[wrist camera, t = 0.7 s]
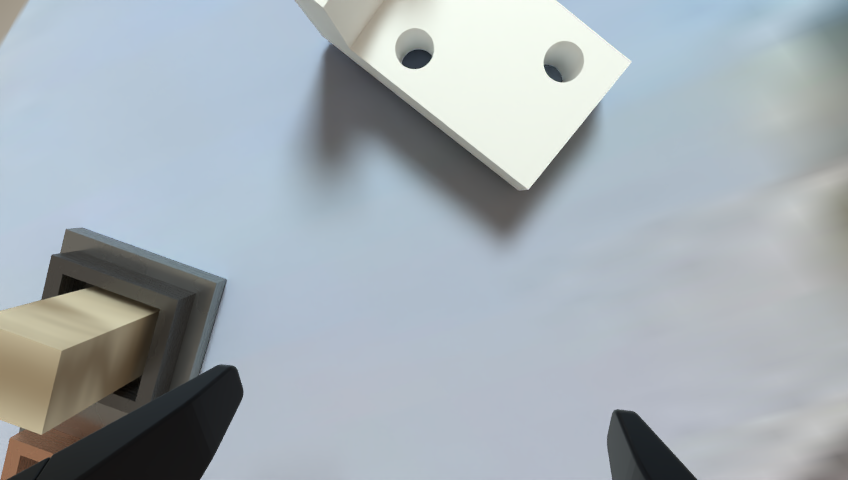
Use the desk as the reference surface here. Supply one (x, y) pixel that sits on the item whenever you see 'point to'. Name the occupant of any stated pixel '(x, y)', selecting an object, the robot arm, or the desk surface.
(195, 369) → the base plate
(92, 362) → the wooden block
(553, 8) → the bracket
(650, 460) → the robot arm
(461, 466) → the desk surface
